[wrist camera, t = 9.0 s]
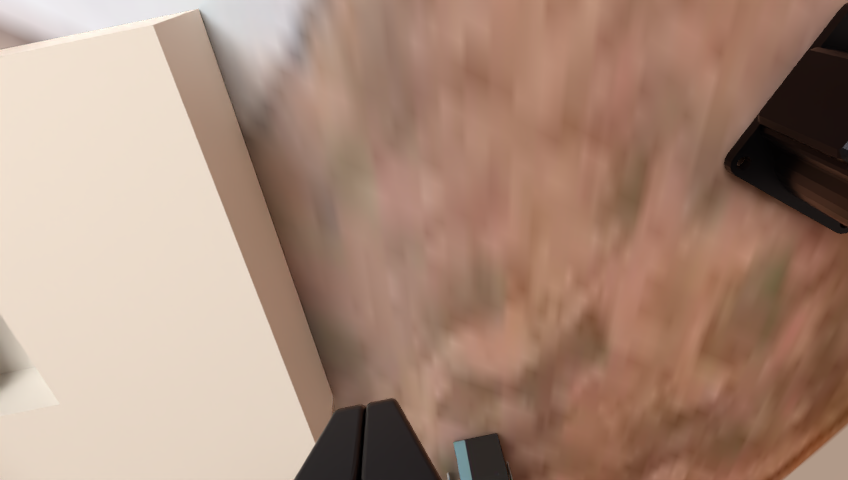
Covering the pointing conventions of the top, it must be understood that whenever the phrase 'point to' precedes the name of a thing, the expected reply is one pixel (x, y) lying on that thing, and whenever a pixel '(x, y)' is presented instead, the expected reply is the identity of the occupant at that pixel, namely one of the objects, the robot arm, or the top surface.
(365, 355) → the top surface
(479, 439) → the push button
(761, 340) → the top surface
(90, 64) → the box
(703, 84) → the top surface
